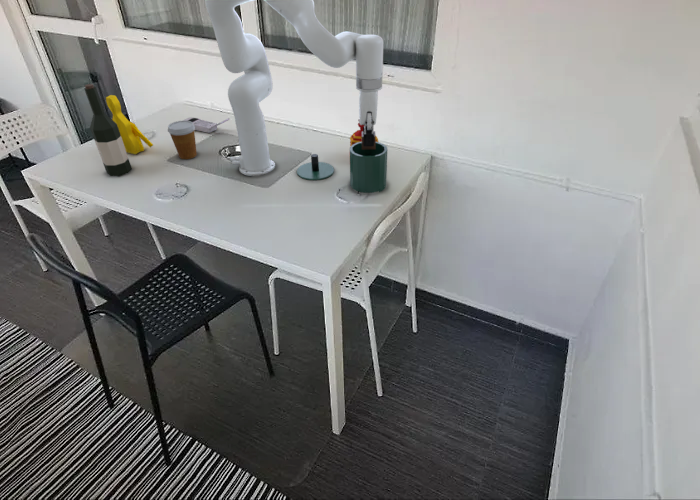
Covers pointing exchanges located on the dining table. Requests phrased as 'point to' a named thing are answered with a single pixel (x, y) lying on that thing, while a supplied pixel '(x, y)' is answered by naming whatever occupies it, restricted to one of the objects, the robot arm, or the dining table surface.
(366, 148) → the block
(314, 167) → the green disc with handle
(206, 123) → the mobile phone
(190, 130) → the disposable coffee cup
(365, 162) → the green tube
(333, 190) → the dining table surface
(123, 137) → the figure statuette
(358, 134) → the potion bottle
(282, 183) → the dining table surface
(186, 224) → the dining table surface
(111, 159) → the wine bottle
